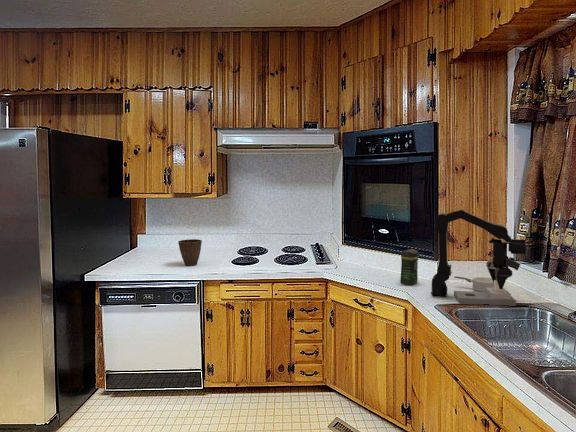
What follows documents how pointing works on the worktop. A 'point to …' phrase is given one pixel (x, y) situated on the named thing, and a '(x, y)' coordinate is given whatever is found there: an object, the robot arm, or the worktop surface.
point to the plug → (497, 287)
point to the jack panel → (485, 297)
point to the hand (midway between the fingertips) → (497, 286)
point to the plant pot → (190, 251)
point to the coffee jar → (409, 267)
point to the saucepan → (479, 283)
